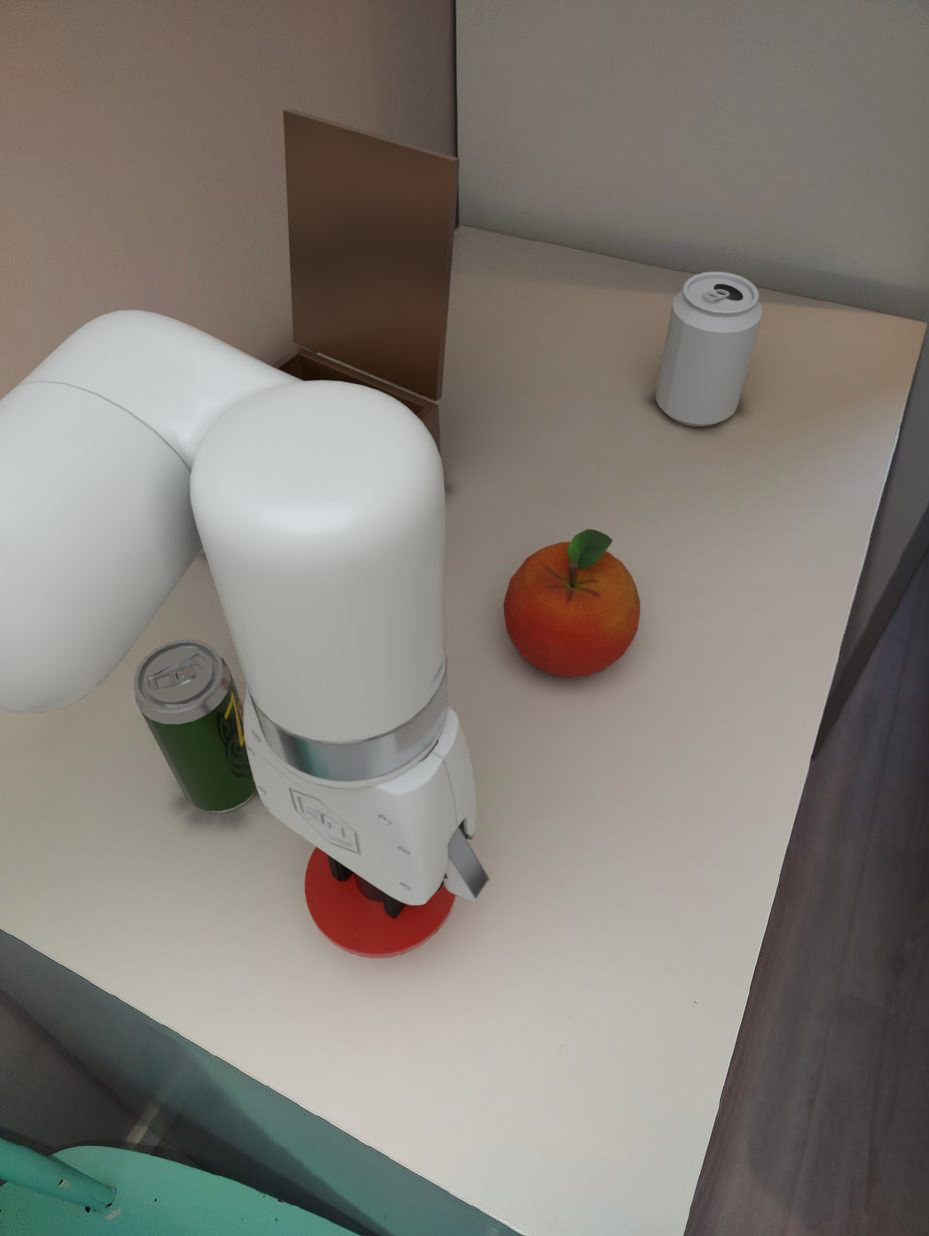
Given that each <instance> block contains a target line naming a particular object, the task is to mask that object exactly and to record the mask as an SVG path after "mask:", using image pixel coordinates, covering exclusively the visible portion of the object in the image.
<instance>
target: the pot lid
mask: <svg viewBox="0 0 929 1236" xmlns="http://www.w3.org/2000/svg"><path fill="white" fill-rule="evenodd" d="M304 896H305V902H306V905H307V908H308V912H309V915H310V916H311V919H312V922H313V923H314V925H315V927H316V928H317V929H318V931H319V932H320V933H321V934H322V935H323V936H324V937H325V939H327V940H328V941H329V943H331V944H332V945H334V946H335V947H337V948H338V949H340V950H342V951H344V952H346V953H348V954H350V955H354V956H358V957H362V958H368V959H388V958H394V957H398V956H403V955H405V954H407V953H409V952H412V951H414V950H416V949H418V948H419V947H421V946H423V945H424V944H425V943H428V941H430V940H431V939H432V938H433V937H434V936H435V935H436V934H437V933H438V932H439V931H440V930H441V929H442V927H443V926H444V925H445V923H446V922H447V919H449V917H450V915H451V913H452V910H453V908H454V905H455V902H456V898H457V895H455V894H453V893H450V892H448V891H447V889H446V888H445V887H443V886H442V887H441V889H440V890H439V891H436V892H435V893H434V894H433V896H432V897H431V898H430V899H429V900H428V901H427V902H426V903H425V904H423V905H416V906H415V907H412V906H410V905H408V904H406V905H405V907H404V908H403V909H402V911H401V912H400V914H399V915H398V916H397V917H396V918H395V919H393V918H392V917H390V916H389V915H387V914H386V911H385V909H384V904H383V898H382V892H381V890H380V889H378V888H377V887H375V886H374V885H372V884H371V883H369V882H368V881H366V880H365V879H363V878H362V877H360V876H359V875H357V874H356V873H354V872H353V873H352V875H351V876H350V877H349V878H348V880H347V881H345V882H344V881H342V882H340V881H338V880H337V879H335V878H334V877H333V876H332V872H331V869H330V865H329V861H328V857H327V854H326V853H325V852H324V851H322V850H321V849H319V848H318V847H316V846H315V847H314V849H313V851H312V853H311V854H310V857H309V859H308V863H307V865H306V869H305V875H304Z"/></svg>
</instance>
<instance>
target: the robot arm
mask: <svg viewBox="0 0 929 1236" xmlns="http://www.w3.org/2000/svg"><path fill="white" fill-rule="evenodd" d="M446 544H447V543H446V489H445V477H444V466H443V462H442V457H441V458H440V455H439V452H438V449H437V446H436V443H435V441H434V439H433V438H432V436H431V434H430V433H429V431H428V430H427V428H426V427H425V425H424V423H423V422H422V421H421V420H420V419H419V418H418V417H417V416H416V415H415V414H414V413H413V412H412V411H411V410H410V409H409V408H408V407H406V406H405V405H404V404H402V403H401V402H399V401H398V400H396V399H395V398H393V397H391V396H389V395H387V394H385V393H383V392H381V391H378V390H375V389H372V388H369V387H366V386H363V385H358V384H352V383H347V382H342V381H327V380H318V381H303V380H301V379H298V378H296V377H294V376H292V375H289V374H287V373H285V372H283V371H280V370H278V369H276V368H274V367H272V366H271V365H269V364H267V363H265V362H264V361H261V360H259V359H258V358H256V357H254V356H252V355H250V354H248V353H246V352H245V351H242V350H241V349H238V348H237V347H235V346H232V345H231V344H228V343H227V342H224V341H222V340H220V339H219V338H217V337H215V336H213V335H211V334H209V333H207V332H205V331H203V330H201V329H199V328H197V327H194V326H193V325H190V324H188V323H185V322H183V321H181V320H178V319H175V318H173V317H170V316H166V315H164V314H160V313H158V312H153V311H146V310H140V309H121V310H115V311H112V312H108V313H105V314H101V315H99V316H97V317H95V318H94V319H92V320H90V321H88V322H87V323H85V324H84V325H82V326H81V327H79V328H78V329H77V330H75V331H74V332H73V333H72V334H71V335H69V336H68V337H67V338H66V339H65V340H64V341H63V342H62V343H61V344H59V346H58V347H56V348H55V349H54V350H53V351H52V352H51V353H50V354H49V355H48V356H47V357H45V358H44V360H43V361H42V362H41V363H39V364H38V365H37V367H36V368H34V369H33V370H32V371H31V372H30V373H29V374H28V375H27V376H26V377H25V378H23V380H21V381H20V383H19V384H17V385H16V386H15V387H14V388H13V389H11V390H10V391H8V393H7V394H5V395H4V396H3V397H2V398H1V399H0V711H4V712H9V713H17V714H18V713H19V714H41V713H46V712H51V711H55V710H59V709H61V708H64V707H68V706H71V705H72V704H75V703H77V702H79V701H81V700H83V699H84V698H85V697H86V696H88V695H90V694H91V693H92V692H93V691H94V690H96V688H97V687H99V685H101V684H102V683H103V682H104V681H105V680H106V679H108V678H109V677H110V676H111V675H112V673H113V672H114V671H115V670H116V668H117V667H118V666H119V665H120V664H121V663H122V661H123V660H124V659H125V657H126V656H127V654H128V653H129V652H130V650H131V649H132V648H133V647H134V645H135V644H136V642H137V641H138V640H139V638H140V637H141V635H142V634H143V633H144V631H145V630H146V628H147V627H148V626H149V625H150V623H151V622H152V620H153V619H154V617H155V616H156V615H157V613H158V611H159V610H160V609H161V608H162V606H163V605H164V603H165V602H166V600H167V599H168V598H169V596H170V595H171V593H172V592H173V591H174V589H175V588H176V586H177V585H178V584H179V582H180V581H181V579H182V578H183V576H184V575H186V572H187V571H188V569H189V568H190V567H191V565H192V564H193V562H194V561H195V560H196V559H197V557H198V556H199V555H200V554H203V553H204V554H205V557H206V561H207V564H208V568H209V571H210V573H211V577H212V580H213V583H214V586H215V589H216V592H217V596H218V599H219V602H220V605H221V608H222V611H223V615H224V618H225V622H226V624H227V627H228V631H229V634H230V637H231V640H232V644H233V647H234V649H235V652H236V656H237V659H238V662H239V665H240V669H241V672H242V676H243V678H244V681H245V685H246V687H245V693H244V700H243V727H244V738H245V744H246V750H247V754H248V759H249V763H250V767H251V771H252V774H253V778H254V781H255V785H256V788H257V790H256V792H257V793H258V796H259V799H260V801H261V802H262V805H263V806H264V807H265V809H267V811H268V812H270V813H271V815H273V816H274V817H275V818H276V819H277V820H278V821H280V822H281V823H282V824H284V825H285V826H286V827H288V828H289V829H290V830H292V831H293V832H295V833H297V834H298V835H299V836H300V837H302V838H303V839H305V840H306V841H308V842H309V843H311V844H312V845H313V846H315V847H318V848H319V849H321V850H322V851H324V852H325V853H326V854H327V857H328V861H329V865H330V869H331V872H332V876H333V877H334V878H335V879H337V880H338V881H340V882H342V881H344V882H345V881H347V880H348V878H349V877H350V876H351V875H352V873H353V872H354V873H356V874H357V875H359V876H360V877H362V878H363V879H365V880H366V881H368V882H369V883H371V884H372V885H374V886H375V887H377V888H378V889H380V890H381V892H382V898H383V904H384V909H385V911H386V914H387V915H389V916H390V917H392V918H393V919H395V918H396V917H397V916H398V915H399V914H400V912H401V911H402V909H403V908H404V907H405V905H406V904H408V905H410V906H412V907H415V906H416V905H423V904H425V903H426V902H427V901H428V900H429V899H430V898H431V897H432V896H433V894H434V893H435V892H436V891H439V890H440V889H441V887H442V886H443V887H445V888H446V889H447V891H448V892H450V893H453V894H455V895H456V897H460V898H462V899H465V900H466V901H470V902H473V903H475V902H476V901H477V900H478V899H479V897H480V896H481V894H482V893H483V891H484V890H485V888H487V885H488V884H489V883H490V881H491V879H490V877H489V875H488V873H487V872H486V870H485V868H484V866H483V865H482V863H481V861H480V860H479V858H478V856H477V855H476V853H475V852H474V850H473V848H472V846H471V845H470V844H469V842H468V841H470V840H473V838H474V836H475V834H476V829H477V820H478V819H477V818H478V816H477V815H478V809H477V791H476V781H475V774H474V768H473V763H472V758H471V754H470V750H469V746H468V743H467V739H466V736H465V733H464V730H463V729H464V728H463V727H462V724H461V721H460V718H459V715H458V713H457V712H456V711H455V710H454V709H453V708H452V707H451V706H450V705H449V704H448V647H447V646H448V641H447V638H448V637H447V635H448V633H447V632H448V629H447V628H448V627H447V626H448V625H447V557H446V556H447V555H446V553H447V550H446V549H447V548H446V547H447V545H446Z"/></svg>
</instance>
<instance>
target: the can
mask: <svg viewBox="0 0 929 1236" xmlns="http://www.w3.org/2000/svg"><path fill="white" fill-rule="evenodd" d="M759 300H760V293H759V290H758V288H757V287H756V286H755V284H754V283H752V282H751V281H750V280H748V279H747V278H745V277H743V276H741V275H738V274H734V273H731V272H727V271H703V272H702V273H701V272H700V273H697V274H695V275H693V276H691V277H690V278H688V279H686V281H685V282H684V283H683V286H682V290H679V292H677V293H676V295H675V297H674V298H673V299H672V303H671V309H670V315H669V320H668V325H667V331H666V336H665V341H664V347H663V351H662V352H663V353H662V359H661V363H660V369H659V374H658V379H657V385H656V392H655V400H656V402H657V405H658V407H659V408H660V409H661V410H662V411H663V412H664V413H665V414H666V415H667V416H668V417H669V418H671V419H672V420H674V421H676V422H677V423H679V424H682V425H685V426H689V427H698V428H701V427H702V428H703V427H710V426H713V425H715V424H718V423H720V422H723V421H726V420H727V419H728V418H730V417H731V416H733V415H734V414H735V412H736V410H737V409H738V406H739V402H740V398H741V394H742V391H743V388H744V385H745V380H746V377H747V374H748V369H749V365H750V362H751V358H752V355H753V351H754V347H755V344H756V340H757V337H758V334H759V333H758V332H759V329H760V327H761V322H762V318H763V306H762V305H761V304H760V302H759Z"/></svg>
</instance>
